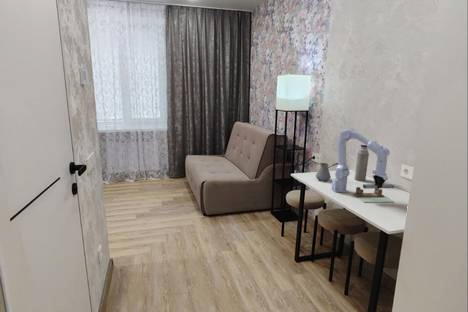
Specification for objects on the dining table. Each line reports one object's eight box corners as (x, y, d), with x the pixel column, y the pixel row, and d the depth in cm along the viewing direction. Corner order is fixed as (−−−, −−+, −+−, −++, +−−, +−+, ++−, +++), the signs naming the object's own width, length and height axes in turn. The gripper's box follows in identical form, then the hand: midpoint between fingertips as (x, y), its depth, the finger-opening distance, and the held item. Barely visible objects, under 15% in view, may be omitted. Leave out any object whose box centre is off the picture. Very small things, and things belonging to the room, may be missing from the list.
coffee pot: (318, 182, 226) (320, 163, 223) (313, 177, 237) (314, 159, 234) (345, 181, 229) (347, 162, 225) (338, 177, 240) (340, 159, 236)
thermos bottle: (366, 179, 235) (370, 145, 228) (364, 182, 228) (369, 146, 222) (355, 177, 239) (359, 143, 232) (353, 180, 232) (357, 145, 226)
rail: (364, 188, 188) (365, 185, 187) (362, 187, 190) (363, 184, 189) (393, 188, 189) (394, 185, 188) (391, 187, 191) (391, 184, 191)
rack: (356, 197, 197) (357, 189, 195) (353, 194, 201) (353, 187, 200) (383, 197, 198) (384, 189, 196) (379, 194, 203) (380, 187, 201)
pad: (364, 202, 187) (364, 201, 187) (358, 198, 194) (359, 197, 194) (394, 202, 189) (394, 201, 188) (388, 198, 195) (388, 197, 195)
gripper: (393, 170, 179) (390, 191, 182) (380, 164, 193) (378, 183, 196) (382, 170, 179) (379, 191, 182) (370, 164, 193) (368, 183, 196)
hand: (378, 187), depth 189 cm, fingers closed on rail, 2 cm apart
